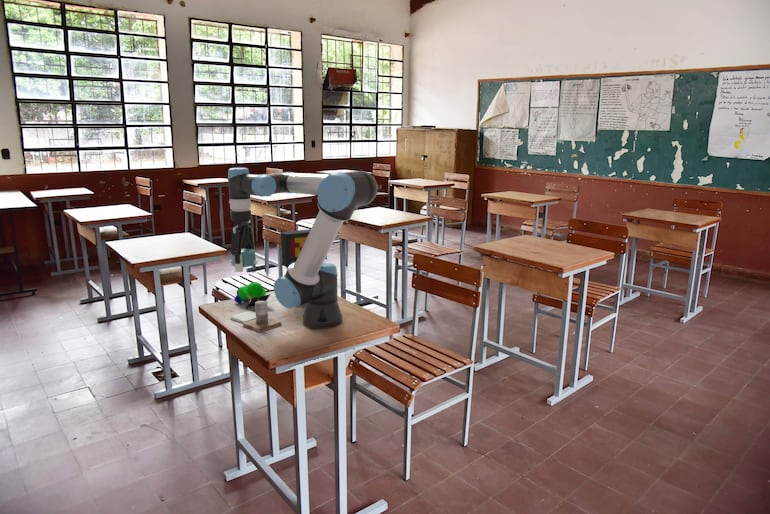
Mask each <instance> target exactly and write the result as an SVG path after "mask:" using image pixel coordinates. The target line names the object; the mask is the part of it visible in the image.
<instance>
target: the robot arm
mask: <svg viewBox="0 0 770 514" xmlns="http://www.w3.org/2000/svg"><path fill="white" fill-rule="evenodd" d="M227 170H228V171H227V183H228V195H229V200H228V203H229V207H230V211H229V212H230V213H229V214H230V215H229V216H230V221H232V222H234V227H230V232H231V238H230V239H231V245H230V246H231V247H230V248H231V249H230V250H231V252H230V255H231V254H232V255H234V258H235V267H234V268H235V269H234V272H235V273H243V272H244V267H243V262H242V255H241V249H243V248H242V247H243V245H244V249H253V250H255V246H254V245H255V243H254V236H253V229H252V226H253V225H252V224H253V223H252V222H251V221H252V210H251V208H252V205H251V204H252V202H251V201H252V199H251V196H256V197H262V198H264V197H271V196H272V195H275V194H284V193H285V194H299V195H302V194H303V195H313V196H317V197H316V199H317V207H318V209H319V211H318V214H317V215H316V218H315V220H314V222H313V224H312V226H311V227H310V229H311V230H310V232H309V235H308V237H307V239H306V241H305V243H304V245H303V248H302V250H301V252H300V254H299V256H298V258H297V261H296V263H292V264H291V265H290V266H289V267H288V269H287V268H286V269H287V270H286V272H285V274H284V275H283V276H279V277H278V278H277V279H276V280H275V281H274V283H273V292H274V295H275V298H276V299H277V301H278V303H279V304H281V306H283V307H285V308H287V309H294V308H298V307H301V306H304V305H305V304H306V306H305V308H304V313H303V315H302V325H304V326H305V327H307V328H311V329H319V330H321V329H330V328H334V327H338V326H340V325H341V324H343V321H344V320H343V314H342V312H341V309H340V305H339V302H338V299H339V298H338V269H337V266H336V265H335V264H334V263H328V262H324V261H325V259H326V258H327V256H328V255H329V254H328V253H329V251H330V250H331V248H332V246H333V243H334V241H335V239H336V238H337V236H338V234H339V232H340V230H341V228H342V226H343V223H344V222H347V221H349V220H351V218H352V217H353V214H354V212H355V210H356V208H360V207H364V206H367V205H369V204H371V203H372V202H373V201H374V199H375V198H376V197H377V194H378V183H377V181H376V179H375V176H373V174H370V172H368V171H364V170H355V171H345V172H342V171H340V172H339V171H338V172H333V173H331V174H327V173H326V174H325V173H307V172H305V173H302V172H300V173H299V172H293V171H284V172H276V173H275V172H274V173H272V172H271V173H262V174H255V173H254V174H250V171H249V170H250V169H249V168H247V167H231V168H229V169H227Z"/></svg>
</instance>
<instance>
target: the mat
mask: <svg viewBox="0 0 770 514" xmlns="http://www.w3.org/2000/svg"><path fill="white" fill-rule="evenodd" d="M229 317H230V320H232V321H236V322H238V323H240V324H243V323H245V322H248V321H251V320H254V319H256V312H255V311H252V310H247V311H244V312H241V313H237V314H234V315H231V316H229Z"/></svg>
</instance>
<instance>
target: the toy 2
mask: <svg viewBox="0 0 770 514" xmlns="http://www.w3.org/2000/svg"><path fill="white" fill-rule="evenodd" d="M310 230H311V228H310V229H309V228H308V229H299V230H290V231H280V246H281V247H280V251H281V265H282V266H283V267H285V268H286V269H288V267H289V266H290V265H291V264H292V263H296V261H297V258H298V256H299V254H300V252H301V250H302V248H303V245H304V243H305V241H306V239H307V237H308V235H309V232H310Z"/></svg>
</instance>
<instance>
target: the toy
mask: <svg viewBox="0 0 770 514" xmlns="http://www.w3.org/2000/svg"><path fill="white" fill-rule="evenodd" d="M270 296H271V293H269V294H267V291H266V289H265V288H264V287H263V285H262V284H261V283H259V282H256V281H253V282H250V283H249V284H247V285H243V286H240V287H239V288H238V289H237V290H236V295H235V297H234V302H235V303H237V304H241V303H242V302H244V303H247V302H248V304H247V306H246V307H245V309H248V308H247V307H250V308H252V307H251V306H253V307H255V302H258V301H266V302H267V300H268V299H269V298H270Z"/></svg>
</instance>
